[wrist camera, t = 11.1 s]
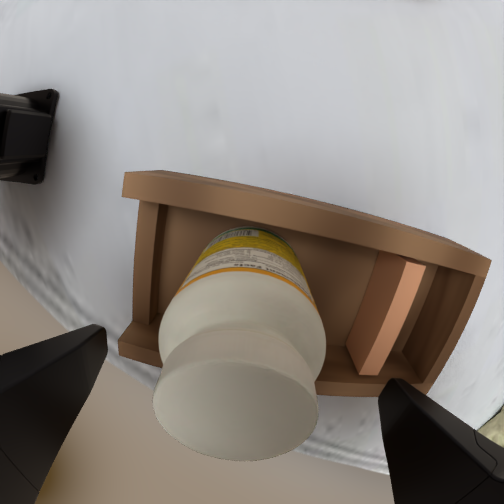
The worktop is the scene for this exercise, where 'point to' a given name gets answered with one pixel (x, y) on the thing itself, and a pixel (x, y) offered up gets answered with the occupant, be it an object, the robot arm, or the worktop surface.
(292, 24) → the worktop surface
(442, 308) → the pusher lane
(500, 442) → the wavy plaster lump
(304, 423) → the supplement bottle
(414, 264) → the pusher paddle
